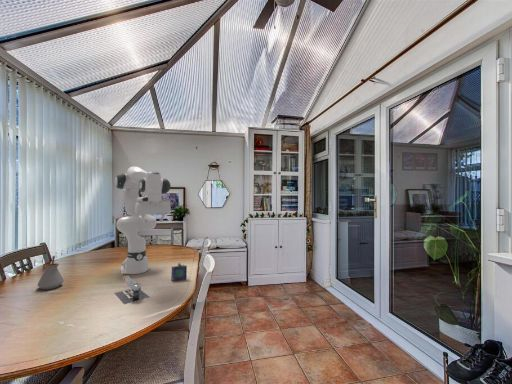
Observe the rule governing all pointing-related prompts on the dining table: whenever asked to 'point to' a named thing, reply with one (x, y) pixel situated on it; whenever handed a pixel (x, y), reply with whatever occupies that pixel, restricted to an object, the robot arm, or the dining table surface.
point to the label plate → (127, 292)
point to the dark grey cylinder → (136, 295)
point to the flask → (179, 272)
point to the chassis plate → (127, 300)
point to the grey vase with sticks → (50, 277)
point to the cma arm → (131, 283)
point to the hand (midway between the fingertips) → (153, 221)
